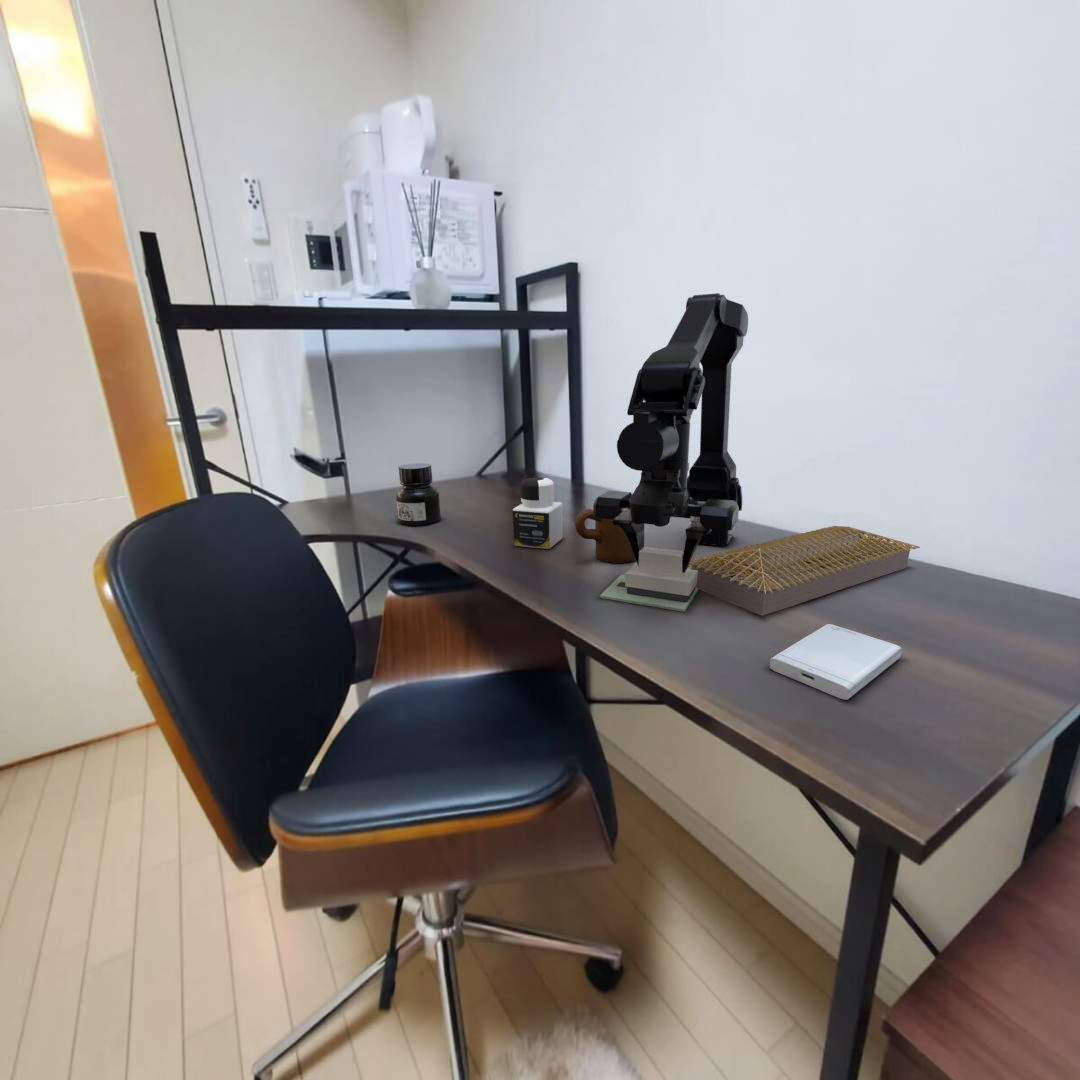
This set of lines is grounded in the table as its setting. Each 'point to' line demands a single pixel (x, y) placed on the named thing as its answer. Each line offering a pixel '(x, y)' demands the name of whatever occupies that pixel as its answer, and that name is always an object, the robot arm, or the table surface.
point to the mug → (606, 538)
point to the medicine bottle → (537, 515)
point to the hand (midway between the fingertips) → (661, 568)
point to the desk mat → (642, 597)
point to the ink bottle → (417, 495)
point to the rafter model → (825, 547)
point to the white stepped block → (661, 575)
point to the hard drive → (836, 660)
